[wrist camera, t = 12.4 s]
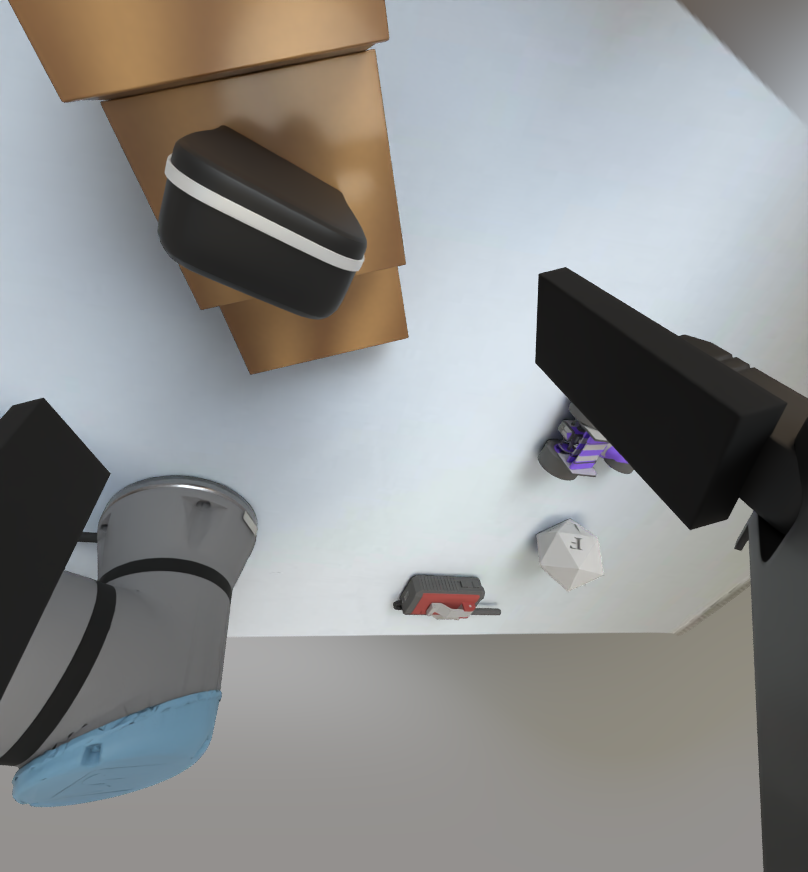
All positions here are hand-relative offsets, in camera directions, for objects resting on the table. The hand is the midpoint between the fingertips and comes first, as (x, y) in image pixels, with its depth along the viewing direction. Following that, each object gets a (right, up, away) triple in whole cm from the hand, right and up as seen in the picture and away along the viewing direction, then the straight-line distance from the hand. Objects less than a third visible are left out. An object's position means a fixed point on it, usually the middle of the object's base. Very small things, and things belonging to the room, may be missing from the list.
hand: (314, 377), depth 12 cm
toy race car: (+26, -1, +39) cm, 47 cm away
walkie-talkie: (+11, -28, +53) cm, 61 cm away
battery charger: (-5, +11, +11) cm, 16 cm away
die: (+25, -16, +51) cm, 59 cm away
